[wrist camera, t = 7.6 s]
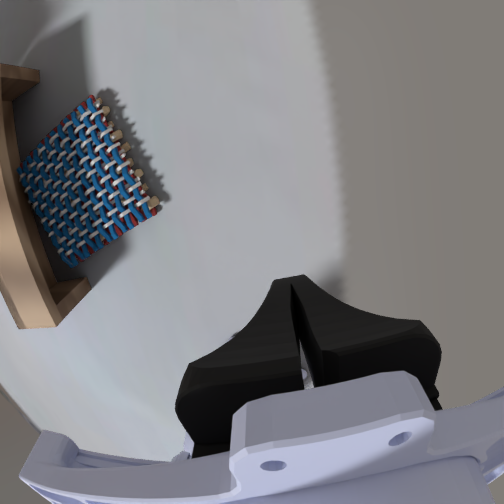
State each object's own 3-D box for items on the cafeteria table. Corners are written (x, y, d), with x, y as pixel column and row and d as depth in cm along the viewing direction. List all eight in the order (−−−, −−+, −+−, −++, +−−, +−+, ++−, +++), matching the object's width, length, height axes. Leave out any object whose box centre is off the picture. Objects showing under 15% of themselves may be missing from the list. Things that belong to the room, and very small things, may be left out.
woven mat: (104, 89, 18) (91, 85, 16) (168, 207, 21) (159, 213, 19) (23, 165, 19) (9, 168, 17) (76, 265, 23) (64, 275, 21)
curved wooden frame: (91, 289, 23) (56, 326, 17) (54, 295, 23) (18, 329, 18) (38, 70, 16) (-9, 62, 10) (3, 95, 16) (-42, 95, 11)
